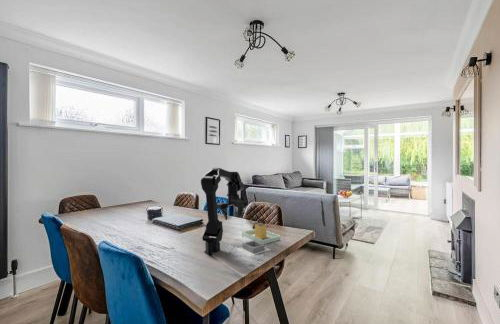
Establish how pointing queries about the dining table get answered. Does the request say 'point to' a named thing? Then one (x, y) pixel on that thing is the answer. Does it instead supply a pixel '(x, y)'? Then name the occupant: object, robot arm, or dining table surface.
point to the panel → (252, 248)
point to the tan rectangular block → (260, 231)
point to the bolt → (259, 222)
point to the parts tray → (251, 232)
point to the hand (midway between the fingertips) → (233, 218)
